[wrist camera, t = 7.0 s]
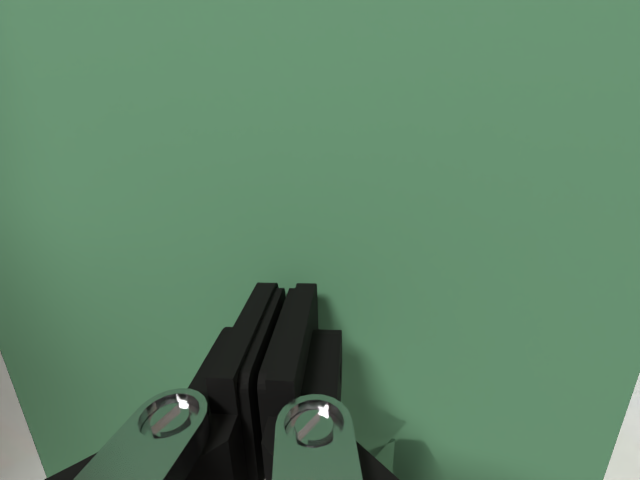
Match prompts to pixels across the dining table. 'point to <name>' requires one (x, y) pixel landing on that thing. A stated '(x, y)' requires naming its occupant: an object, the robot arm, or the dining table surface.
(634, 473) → the dining table surface
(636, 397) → the dining table surface
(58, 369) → the board
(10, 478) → the dining table surface
